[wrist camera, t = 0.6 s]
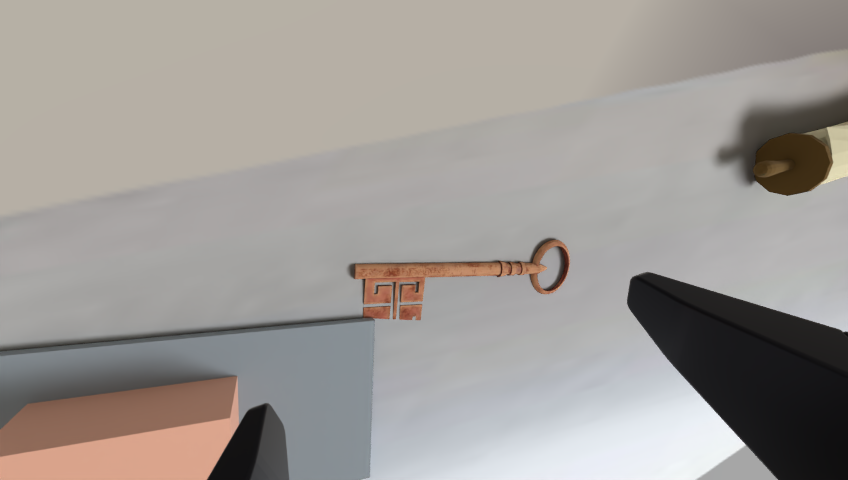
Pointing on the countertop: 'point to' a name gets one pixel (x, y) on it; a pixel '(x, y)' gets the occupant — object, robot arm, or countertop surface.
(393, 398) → the countertop surface
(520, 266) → the key
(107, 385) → the mat
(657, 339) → the robot arm
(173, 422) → the card box
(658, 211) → the countertop surface
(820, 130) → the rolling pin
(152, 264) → the countertop surface
